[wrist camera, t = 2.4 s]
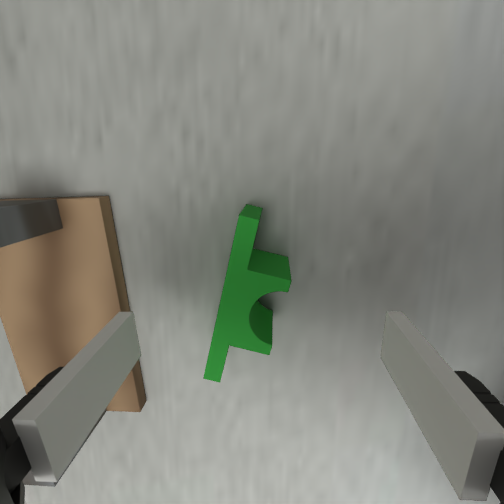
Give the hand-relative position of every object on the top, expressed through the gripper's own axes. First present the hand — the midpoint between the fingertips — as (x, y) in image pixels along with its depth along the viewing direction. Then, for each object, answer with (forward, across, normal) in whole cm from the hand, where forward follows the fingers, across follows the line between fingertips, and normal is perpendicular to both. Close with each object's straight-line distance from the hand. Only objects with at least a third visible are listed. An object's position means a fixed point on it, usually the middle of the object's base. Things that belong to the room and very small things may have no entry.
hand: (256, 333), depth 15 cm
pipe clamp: (+7, +1, 0) cm, 7 cm away
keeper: (+7, +16, +2) cm, 17 cm away
